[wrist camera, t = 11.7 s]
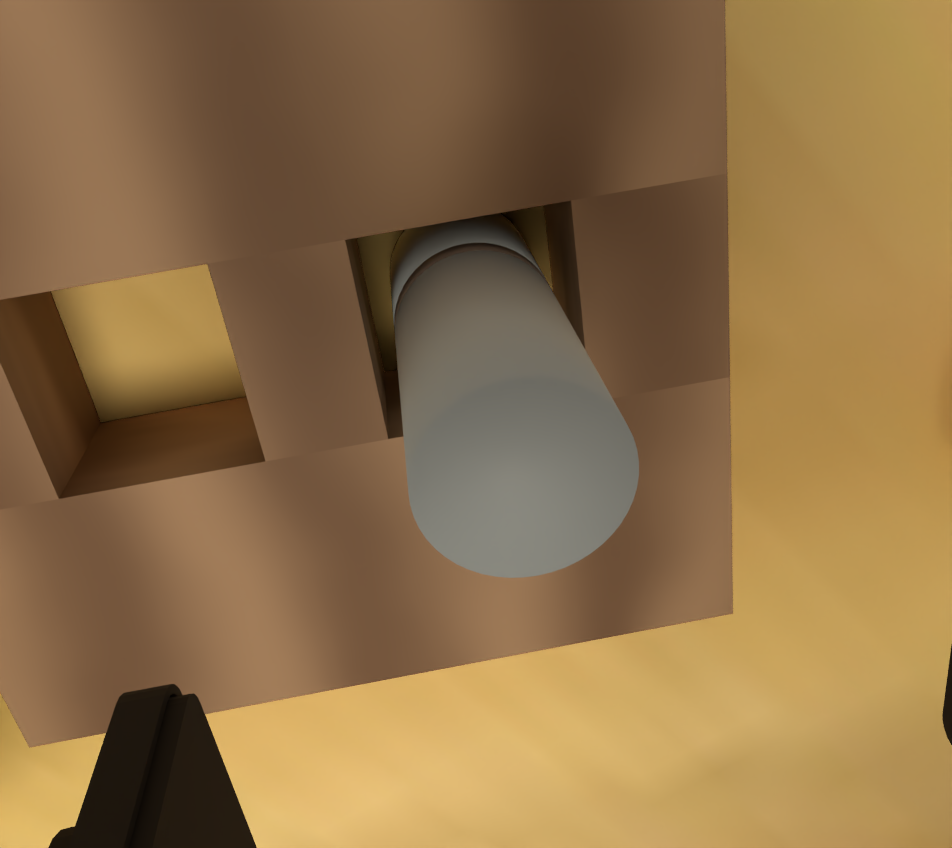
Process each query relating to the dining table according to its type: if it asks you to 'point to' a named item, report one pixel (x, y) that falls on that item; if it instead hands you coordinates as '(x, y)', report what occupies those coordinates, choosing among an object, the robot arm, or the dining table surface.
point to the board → (339, 330)
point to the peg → (501, 406)
